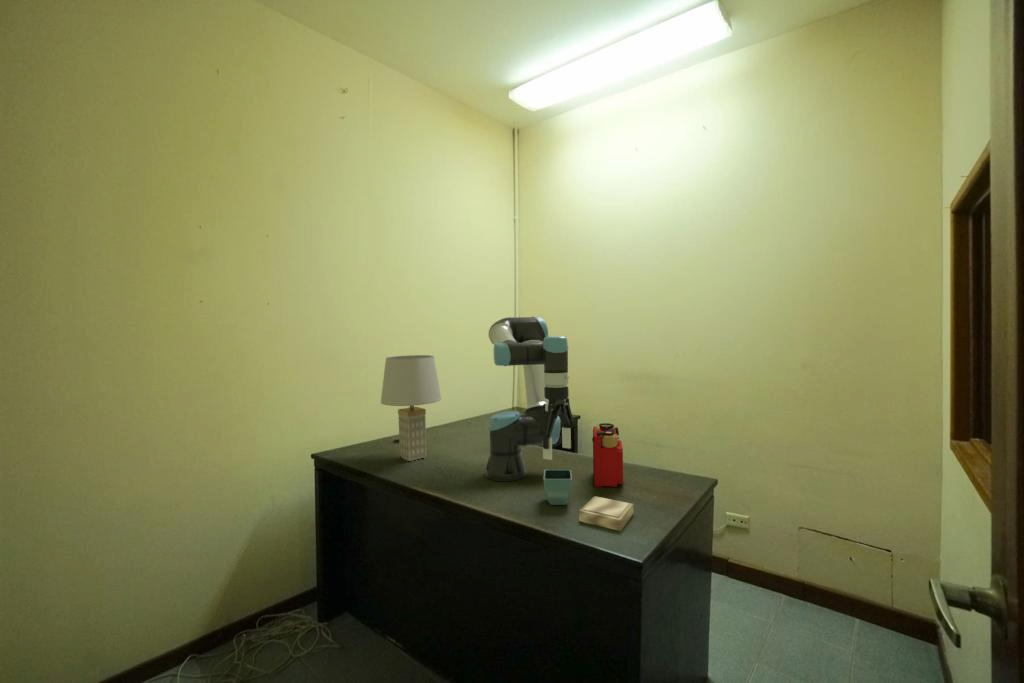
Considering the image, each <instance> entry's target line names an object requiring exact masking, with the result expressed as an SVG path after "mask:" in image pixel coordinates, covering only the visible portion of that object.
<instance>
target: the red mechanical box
mask: <svg viewBox="0 0 1024 683" xmlns="http://www.w3.org/2000/svg"><path fill="white" fill-rule="evenodd" d="M619 439H620V430H619V427H617V426H615V424H613V423H609V422H607V423H605V422H603V423H602V422H601V423H599V424H598V425H595V426H593V430H592V438H591V440H592V455H593V456H592V460H593V461H592V463H593V468H592V469H593V473H592V474H593V478H592V482H593V486H594V487H598V488H600V487H601V488H602V487H618V485H624V450H623V448H624V447H623V445H622V444H623V443H622V440H619Z"/></svg>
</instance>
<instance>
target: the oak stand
mask: <svg viewBox="0 0 1024 683" xmlns="http://www.w3.org/2000/svg"><path fill="white" fill-rule="evenodd" d="M634 510H635V508H634V503H630V502H625V501H621V500H615V499H611V498H605V497H601V496H597V495H596V496H595V495H594V496H593V497H592V498H591V499H590V500H589V501H587V503H586V504H585V505H584V506H582V508H580V509H579V511H578V517H579V518H578V521H579V522H582V523H586V524H590V525H592V526H593V525H594V526H597V527H602V528H606V529H611V530H614V531H619V532H622V531H623V529H624V527H626V524H628V522H629V521H630V519H631V518H632V517H633V515H634V512H635V511H634Z"/></svg>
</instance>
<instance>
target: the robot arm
mask: <svg viewBox="0 0 1024 683" xmlns="http://www.w3.org/2000/svg"><path fill="white" fill-rule="evenodd" d="M547 325H548V324H547V322H546V320H545V319H544V318H543V317H539V316H531V317H530V316H527V317H525V316H524V317H520V316H519V317H517V316H516V317H511V316H509V317H504V318H501V319H499V320H497V321H495V322H494V323H492V325H491V326H490V328H489V330H488V338H489V341H490V342H491V344H492V345H493V362H494V365H495V366H497V367H498V366H499V367H501V366H502V367H507V366H508V367H510V366H523V368H522V369H523V376H524V377H523V378H524V387H525V388H524V389H525V396H526V405H527V406H526V407H525V409H524V410H523V414H521V413H520V411H519V410H505V411H500V412H497V413H494V414H493V415H492V416H491V417H489V426H488V431H489V456H488V461H487V464H486V467H485V476H486V478H488V479H489V480H491V481H495V482H512V481H513V482H514V481H517V480H518V481H519V480H521V479H523V478H525V477H526V475H527V469H526V465H525V462H524V459H523V455H522V452H521V451H522V449H521V448H522V447H530V446H532V447H534V446H542V459H543V460H549V461H551V460H553V445H555V444H557V442H558V440H559V439H560V434H561V437H562V438H561V441H562V442H561V443H562V448H563V449H571V448H572V440H571V438H572V436H571V434H572V433H571V430H572V429H573V428H574V424H575V422H574V418H573V414H572V409H571V406H570V398H569V393H570V392H569V387H568V385H569V378H570V376H569V352H568V351H569V346H568V345H569V344H568V339H567V337H566V336H558V335H557V336H549V329H548V326H547ZM561 425H562V426H563V427H561ZM571 428H572V429H571Z"/></svg>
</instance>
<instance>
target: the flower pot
mask: <svg viewBox="0 0 1024 683" xmlns="http://www.w3.org/2000/svg"><path fill="white" fill-rule="evenodd" d="M542 478H543V487H544V494H545V498H546V500H547V501H548V504H550V505H551V506H553V505H554V506H555V505H557V506H558V505H559V506H561V505H562V506H566V505H567V504H568V503H569V501H570V498H571V495H572V487H573V486H572V485H573V484H572V483H573V475H572V469H544V470H543V477H542Z"/></svg>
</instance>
